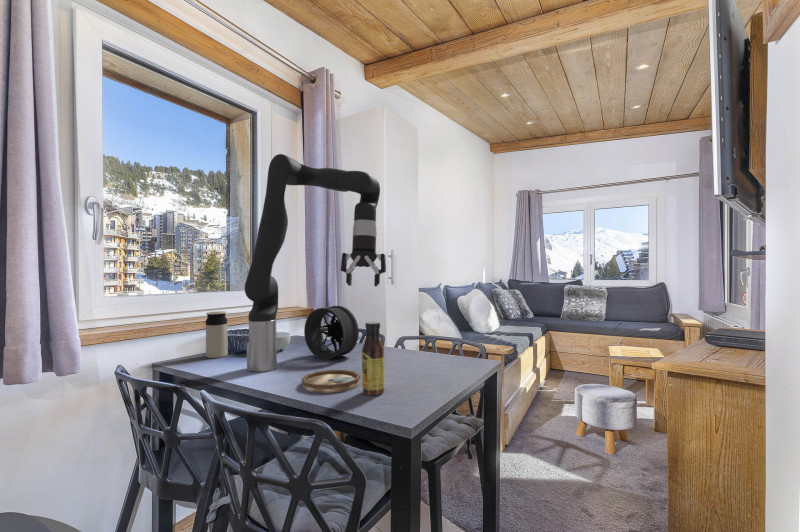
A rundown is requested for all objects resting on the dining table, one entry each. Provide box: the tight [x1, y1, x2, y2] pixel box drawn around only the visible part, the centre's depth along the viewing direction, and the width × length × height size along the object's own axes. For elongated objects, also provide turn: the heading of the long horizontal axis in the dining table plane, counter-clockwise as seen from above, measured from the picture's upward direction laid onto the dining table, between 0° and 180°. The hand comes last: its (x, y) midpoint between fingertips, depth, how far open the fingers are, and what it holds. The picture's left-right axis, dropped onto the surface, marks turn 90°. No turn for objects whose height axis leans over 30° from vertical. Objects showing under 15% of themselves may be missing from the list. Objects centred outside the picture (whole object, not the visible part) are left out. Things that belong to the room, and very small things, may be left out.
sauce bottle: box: [361, 320, 386, 396], centre depth 112 cm, size 7×6×20 cm
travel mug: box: [205, 310, 229, 359], centre depth 164 cm, size 8×8×18 cm
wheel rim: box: [303, 305, 360, 361], centre depth 158 cm, size 20×9×20 cm, turn 60°
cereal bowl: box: [276, 331, 291, 352], centre depth 173 cm, size 17×17×7 cm
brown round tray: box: [301, 369, 362, 394], centre depth 121 cm, size 17×17×2 cm
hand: (362, 285), depth 128 cm, fingers open, 8 cm apart
